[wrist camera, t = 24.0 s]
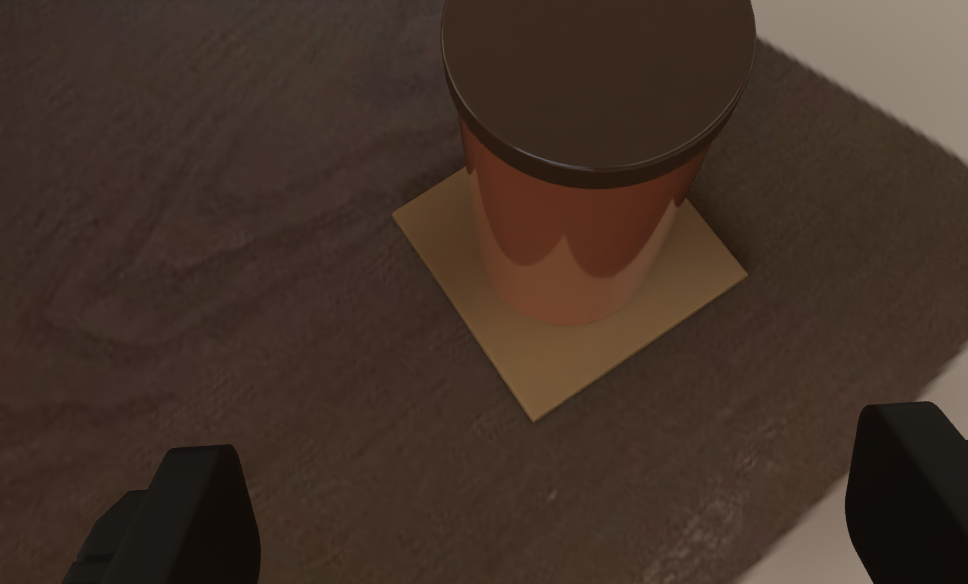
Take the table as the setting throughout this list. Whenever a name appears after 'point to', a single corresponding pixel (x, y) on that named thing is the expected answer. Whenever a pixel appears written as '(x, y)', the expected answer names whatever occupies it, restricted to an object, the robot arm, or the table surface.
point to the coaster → (550, 347)
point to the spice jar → (587, 135)
